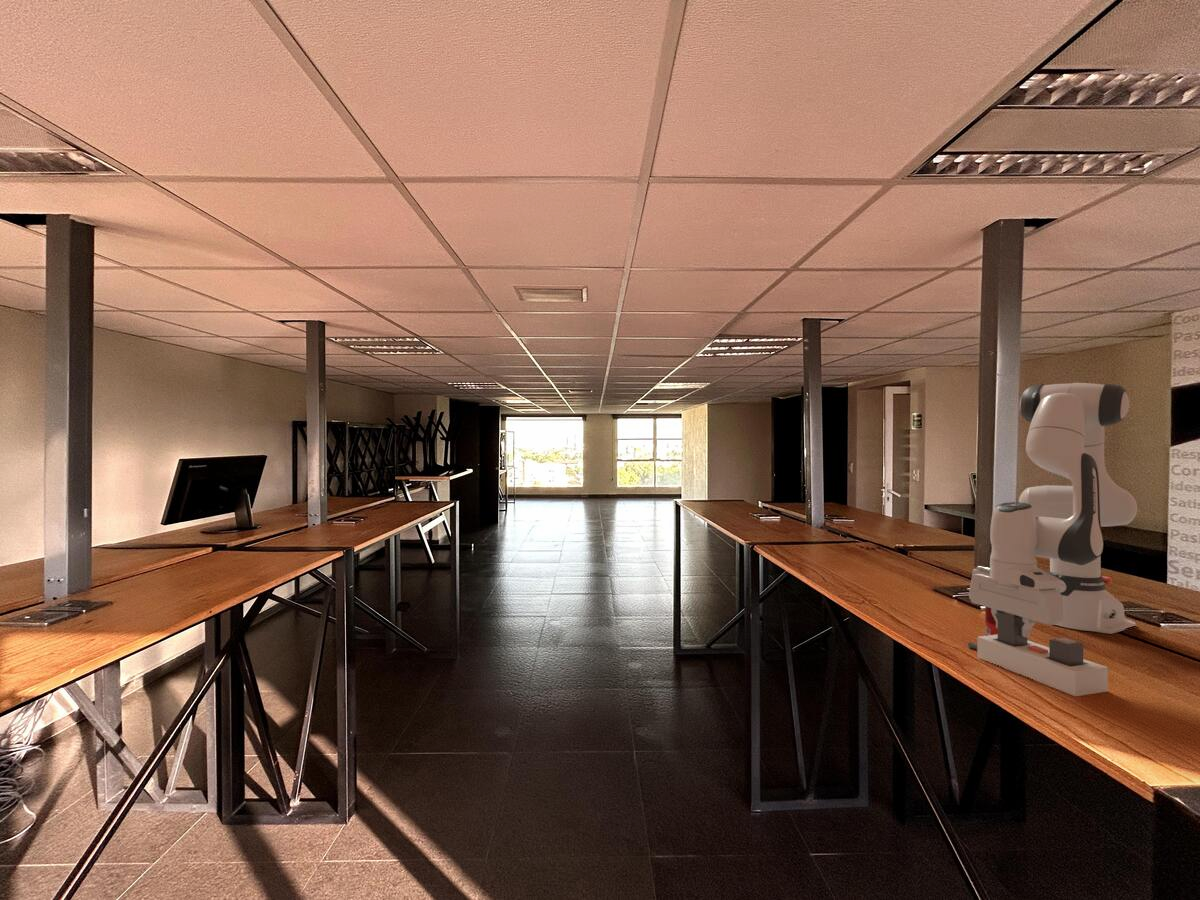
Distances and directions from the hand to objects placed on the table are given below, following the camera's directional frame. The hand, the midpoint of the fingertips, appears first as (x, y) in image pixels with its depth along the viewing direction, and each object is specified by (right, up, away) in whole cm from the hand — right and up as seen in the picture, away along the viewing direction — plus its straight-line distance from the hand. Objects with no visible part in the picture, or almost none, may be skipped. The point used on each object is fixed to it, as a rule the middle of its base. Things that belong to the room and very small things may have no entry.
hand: (1012, 632), depth 133 cm
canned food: (+8, -7, +15) cm, 19 cm away
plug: (0, -4, 0) cm, 4 cm away
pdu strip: (+1, -7, -3) cm, 8 cm away
